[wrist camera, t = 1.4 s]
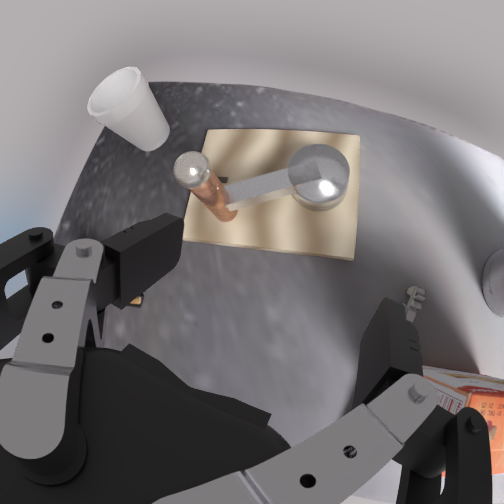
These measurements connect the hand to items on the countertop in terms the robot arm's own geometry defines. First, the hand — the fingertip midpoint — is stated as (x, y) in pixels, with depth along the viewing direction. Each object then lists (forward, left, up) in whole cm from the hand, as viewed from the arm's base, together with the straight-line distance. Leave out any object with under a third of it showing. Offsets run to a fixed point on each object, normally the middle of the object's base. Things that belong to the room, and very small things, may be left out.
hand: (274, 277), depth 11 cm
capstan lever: (+5, -13, -23) cm, 27 cm away
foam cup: (+28, -24, -25) cm, 45 cm away
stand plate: (+6, -15, -25) cm, 30 cm away
